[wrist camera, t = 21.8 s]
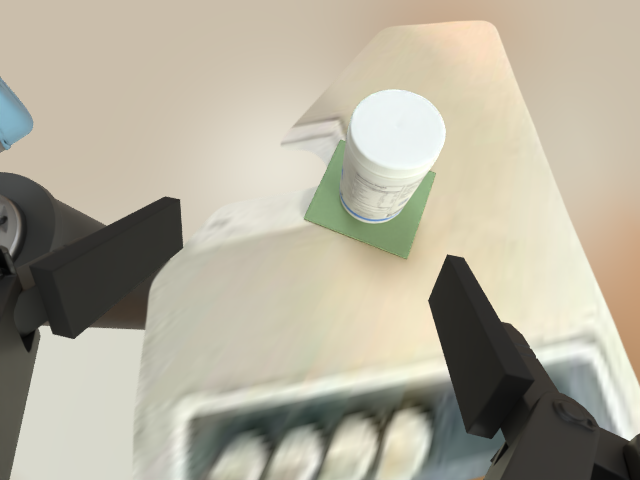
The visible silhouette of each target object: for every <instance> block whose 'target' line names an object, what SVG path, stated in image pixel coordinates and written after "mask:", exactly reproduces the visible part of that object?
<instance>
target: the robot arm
mask: <svg viewBox="0 0 640 480" xmlns="http://www.w3.org/2000/svg"><path fill="white" fill-rule="evenodd" d="M32 128H33V120H32V117H31V115H30V114H29V112H28V110H27V109H26V107H25V106H24V105H23V103H22V102H21V101H20V100H19V98H18V97H17V96H16V95H15V94H14V92H13V91H12V90H11V89H10V88H9V87H8V86H7V84H6V83H5V82H4V81H3V80H2V79H1V77H0V152H2V151H4V150H8V149H9V148H10V147H11V145H12V144H13V143H15V142H16V141H18V140H20V139H21V138H23V137H24V136H26V135H27V134H29V133H30V132H31V130H32ZM26 235H27V222H26V217H25V215H24V212H23V211H22V209H21V208H20V207H19V205H18V204H16V203H15V202H14V201H12V200H11V199H9V198H7V197H4V196H2V195H0V480H9V479H10V474H11V469H12V465H13V460H14V456H15V451H16V446H17V442H18V437H19V433H20V428H21V424H22V419H23V414H24V410H25V405H26V400H27V396H28V391H29V387H30V382H31V377H32V373H33V368H34V364H35V359H36V354H37V350H38V345H39V340H40V332H39V329H38V327H40V326H41V325H43V324H44V323H46V322H47V321H48V322H49V325H50V327H51V330H52V333H53V334H55V335H60V336H63V337H68V338H71V339H75V338H76V337H77V336H78V335H79V334H81V333H82V332H83V331H84V330H85V329H86V328H88V327H89V326H90V325H91V324H93V323H94V322H95V321H96V320H97V319H99V318H100V317H101V316H102V315H103V314H105V313H106V312H107V311H108V310H109V309H111V308H112V307H113V306H114V305H115V304H117V303H118V302H119V301H120V300H121V299H123V298H124V297H125V296H126V295H127V294H129V293H130V292H131V291H132V290H133V289H134V288H136V287H137V286H138V285H139V284H140V283H142V282H143V281H144V280H145V279H146V278H148V277H149V276H150V275H151V274H152V273H154V272H155V271H156V270H157V269H158V268H160V267H161V266H162V265H163V264H164V263H166V262H167V261H168V260H169V259H170V258H172V257H173V256H174V255H175V254H176V253H178V252H179V251H180V250H181V249H182V248H183V239H182V223H181V208H180V199H175V198H170V197H163V198H161V199H159V200H157V201H155V202H153V203H151V204H149V205H147V206H146V207H144V208H142V209H140V210H138V211H136V212H134V213H132V214H130V215H128V216H126V217H124V218H122V219H120V220H118V221H116V222H114V223H112V224H110V225H108V226H106V227H104V228H102V229H100V230H98V231H96V232H94V233H92V234H90V235H87V236H83V237H80V238H76V239H74V240H72V241H70V242H68V243H66V244H64V245H63V247H62V246H60V247H58V248H56V249H54V250H53V251H52V252H48V253H46V254H44V255H42V256H40V257H38V258H36V259H34V260H32V261H30V262H28V263H26V264H24V265H22V266H20V267H18V268H16V269H15V266H14V262H15V261H16V259H17V258H18V256H19V254H20V253H21V251H22V249H23V246H24V243H25V240H26ZM428 302H429V305H430V308H431V312H432V315H433V319H434V322H435V326H436V329H437V333H438V336H439V339H440V343H441V346H442V350H443V353H444V357H445V360H446V364H447V367H448V370H449V374H450V377H451V381H452V384H453V388H454V391H455V394H456V398H457V401H458V405H459V408H460V412H461V415H462V419H463V422H464V425H465V429H466V432H467V433H468V434H473V435H477V436H481V437H485V438H489V439H492V438H493V437H494V435H495V434H496V433H497V431H498V430H499V428H500V427H501V430H502V433H503V435H504V438H505V440H506V441H505V443H504V444H503V445H502V446H501V448H500V449H499V450H498V451H497V453H496V454H495V455H494V457H493V458H492V459H491V460H490V461H491V462H492V465H491V466H490V468H489V470H488V472H487V474H486V476H485V478H484V479H483V480H640V434H638V435H636V436H635V437H634V438H633V439H632V440H631V441H628V440H626V439H624V438H622V437H620V436H618V435H615V434H613V433H611V432H609V431H607V430H605V429H603V428H600V427H599V426H598V424H597V422H596V420H595V419H594V417H593V416H592V415H591V414H590V413H589V412H588V411H587V410H586V409H585V408H584V407H583V406H582V405H580V404H579V403H578V402H576V401H575V400H574V399H572V398H570V397H568V396H566V395H564V394H562V393H559V391H558V390H557V388H556V387H555V385H554V384H553V382H552V381H551V379H550V377H549V376H548V374H547V373H546V371H545V370H544V368H543V366H542V365H541V363H540V362H539V360H538V359H536V355H535V354H534V352H533V351H532V349H530V346H529V345H528V343H527V341H526V340H525V338H524V337H523V335H522V334H521V333H520V332H519V331H518V330H517V329H515V328H514V327H513V326H512V325H511V324H509V323H504V322H501V321H500V319H499V317H498V316H497V314H496V312H495V311H494V309H493V307H492V305H491V304H490V302H489V300H488V299H487V297H486V295H485V293H484V292H483V290H482V288H481V287H480V285H479V283H478V281H477V280H476V278H475V276H474V275H473V273H472V271H471V269H470V268H469V266H468V264H467V263H466V261H465V259H464V258H462V257H457V256H452V255H448V254H447V256H446V259H445V261H444V264H443V266H442V268H441V271H440V273H439V276H438V278H437V281H436V283H435V285H434V288H433V290H432V293H431V295H430V298H429V300H428Z"/></svg>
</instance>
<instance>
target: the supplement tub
mask: <svg viewBox="0 0 640 480" xmlns="http://www.w3.org/2000/svg"><path fill="white" fill-rule="evenodd" d="M445 134H446V131H445V124H444V121H443V119H442V116H441V115H440V113H439V111H438V110H437V109H436V107H435V106H434V105H433V104H432V103H430V102H429V101H428V100H427V99H425V98H423V97H422V96H420V95H418V94H416V93H413V92H410V91H406V90H399V89H390V90H383V91H379V92H376V93H373V94H371V95H369V96H368V97H366V98H365V99H363V100H362V101H361V102H360V103H359V104H358V105H357V107H356V108H355V110H354V112H353V114H352V116H351V120H350V123H349V126H348V131H347V137H346V144H345V151H344V159H343V166H342V173H341V179H340V187H339V195H340V200H341V202H342V205H343V206H344V208H345V209H346V211H347V212H348V213H349V214H350V215H351V216H353V217H354V218H356V219H357V220H360V221H362V222H366V223H373V224H376V223H383V222H386V221H389V220H391V219H393V218H394V217H395V216H397V215H398V214H399V213H400V212H401V210H402V209H403V208H404V206H405V205H406V203H407V202H408V200H409V199H410V198H411V196H412V195H413V193H414V192H415V190H416V189H417V187H418V186H419V185H420V183H421V182H422V180H423V179H424V177H425V176H426V174H427V173H428V171H429V170H430V168H431V167H432V165H433V164H434V162H435V161H436V159H437V158H438V155H439V153H440V151H441V149H442V147H443V144H444V141H445Z"/></svg>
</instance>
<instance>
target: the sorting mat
mask: <svg viewBox="0 0 640 480" xmlns="http://www.w3.org/2000/svg"><path fill="white" fill-rule="evenodd" d="M345 144H346V141H343V140H340V142H339V144H338V146H337V148H336V151H335V153H334V155H333V157H332V159H331V161H330V163H329V165H328V168H327V170H326V172H325V174H324V176H323V178H322V180H321V183H320V185H319V187H318V189H317V191H316V193H315V195H314V197H313V200H312V202H311V204H310V206H309V208H308V210H307V212H306V215H305V217H304V219H306V220H308V221H311V222H313V223H316V224H318V225H321V226H324V227H326V228H329V229H331V230H334V231H336V232H339V233H341V234H344V235H347V236H349V237H352V238H354V239H357V240H359V241H362V242H364V243H367V244H370V245H372V246H375V247H377V248H380V249H382V250H385V251H387V252H390V253H392V254H395V255H398V256H400V257H403V258H405V259H407V257H408V255H409V252H410V249H411V246H412V243H413V240H414V237H415V234H416V231H417V228H418V225H419V222H420V219H421V216H422V213H423V210H424V207H425V204H426V201H427V198H428V195H429V192H430V189H431V186H432V183H433V180H434V177H435V174H436V173H434V172H431V171H428V173H427V174H426V176H425V177H424V179H423V180H422V182H421V183H420V185H419V186H418V187H417V189H416V190H415V192H414V193H413V195H412V196H411V198H410V199H409V200H408V202H407V203H406V205H405V206H404V208H403V209H402V210H401V212H400V213H399V214H398V215H397V216H395V217H394V218H393V219H391V220H389V221H386V222H383V223H376V224H373V223H366V222H362V221H360V220H357V219H356V218H354V217H353V216H351V215H350V214H349V213H348V212H347V211H346V209H345V208H344V206H343V205H342V202H341V200H340V195H339V187H340V179H341V173H342V166H343V159H344V151H345Z"/></svg>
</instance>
